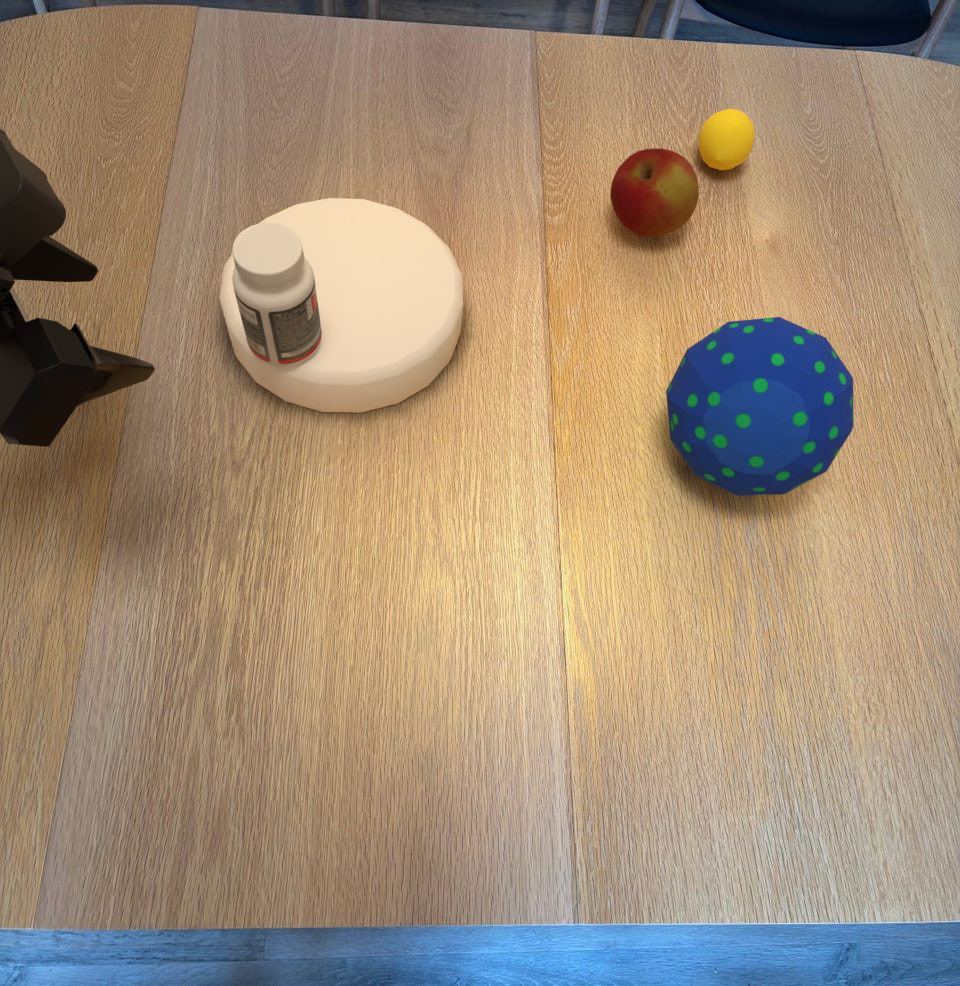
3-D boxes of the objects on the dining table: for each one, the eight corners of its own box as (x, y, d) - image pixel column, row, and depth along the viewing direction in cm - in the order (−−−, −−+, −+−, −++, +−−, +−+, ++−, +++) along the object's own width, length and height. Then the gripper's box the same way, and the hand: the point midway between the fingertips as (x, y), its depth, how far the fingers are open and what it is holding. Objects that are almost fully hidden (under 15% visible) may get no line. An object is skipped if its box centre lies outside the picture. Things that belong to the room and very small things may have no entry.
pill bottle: (327, 314, 68) (317, 221, 59) (316, 373, 66) (304, 284, 57) (254, 307, 68) (233, 212, 59) (240, 365, 65) (216, 275, 57)
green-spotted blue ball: (870, 315, 69) (890, 350, 56) (824, 477, 74) (833, 545, 61) (693, 288, 73) (673, 315, 59) (662, 445, 78) (637, 501, 65)
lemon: (735, 191, 86) (755, 147, 81) (684, 174, 86) (701, 129, 82) (749, 147, 89) (769, 102, 84) (699, 131, 90) (716, 86, 85)
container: (199, 393, 69) (186, 358, 65) (258, 215, 79) (251, 175, 75) (444, 430, 70) (447, 397, 66) (474, 249, 79) (478, 210, 75)
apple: (610, 188, 85) (630, 119, 78) (690, 209, 84) (717, 142, 77) (594, 242, 81) (613, 174, 74) (677, 264, 81) (705, 199, 73)
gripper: (-22, 265, 36) (256, 332, 49) (-148, 13, 43) (126, 133, 56) (-124, 443, 40) (156, 460, 54) (-225, 189, 47) (47, 261, 60)
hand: (122, 321), depth 56 cm, fingers open, 9 cm apart
